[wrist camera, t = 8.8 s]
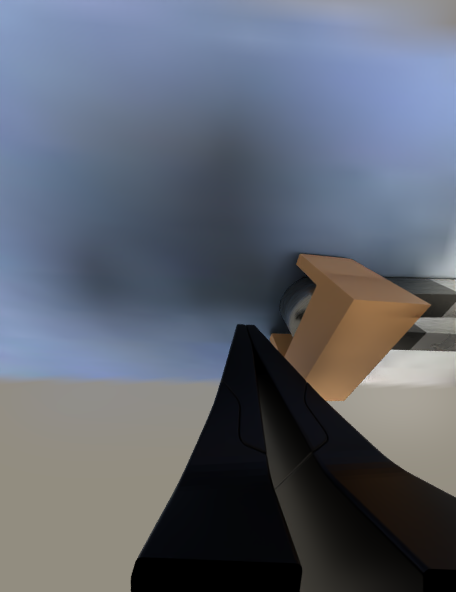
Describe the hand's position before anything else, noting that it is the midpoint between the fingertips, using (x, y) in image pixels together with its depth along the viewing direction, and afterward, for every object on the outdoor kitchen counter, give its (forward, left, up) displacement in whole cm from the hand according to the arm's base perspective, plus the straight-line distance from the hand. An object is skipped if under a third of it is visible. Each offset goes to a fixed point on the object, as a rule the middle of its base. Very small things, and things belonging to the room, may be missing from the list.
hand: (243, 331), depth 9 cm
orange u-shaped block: (-5, -1, -3) cm, 6 cm away
